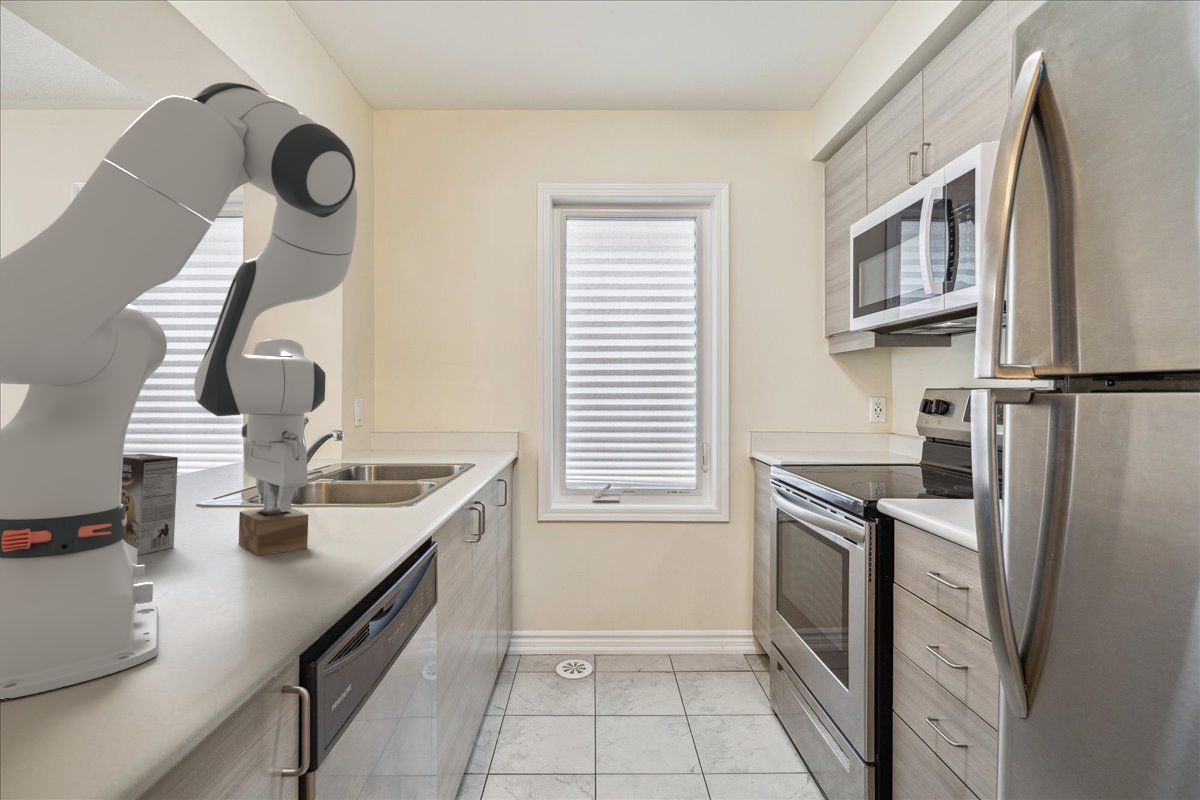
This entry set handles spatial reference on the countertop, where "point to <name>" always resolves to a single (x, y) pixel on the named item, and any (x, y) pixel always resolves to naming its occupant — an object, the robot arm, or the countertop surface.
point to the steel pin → (271, 500)
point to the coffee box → (149, 501)
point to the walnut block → (273, 531)
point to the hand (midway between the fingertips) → (274, 506)
